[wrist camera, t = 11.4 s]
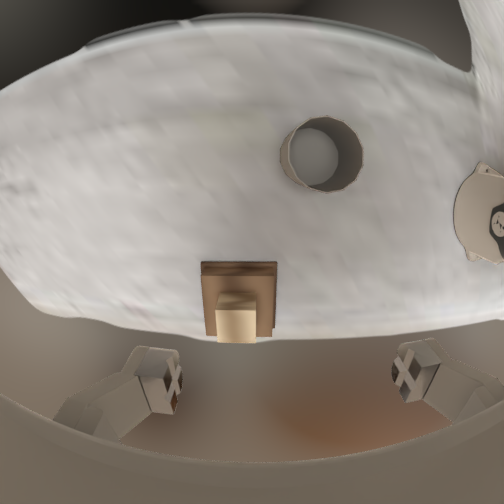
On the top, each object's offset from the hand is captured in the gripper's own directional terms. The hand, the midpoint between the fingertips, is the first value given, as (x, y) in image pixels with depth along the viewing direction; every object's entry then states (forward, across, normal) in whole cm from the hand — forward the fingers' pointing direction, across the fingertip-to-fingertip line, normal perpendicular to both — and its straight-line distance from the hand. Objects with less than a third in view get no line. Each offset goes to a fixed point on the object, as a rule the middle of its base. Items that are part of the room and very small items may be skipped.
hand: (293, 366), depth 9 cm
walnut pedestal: (+31, +4, +13) cm, 34 cm away
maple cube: (+27, +4, +13) cm, 30 cm away
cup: (+31, -6, -8) cm, 33 cm away
